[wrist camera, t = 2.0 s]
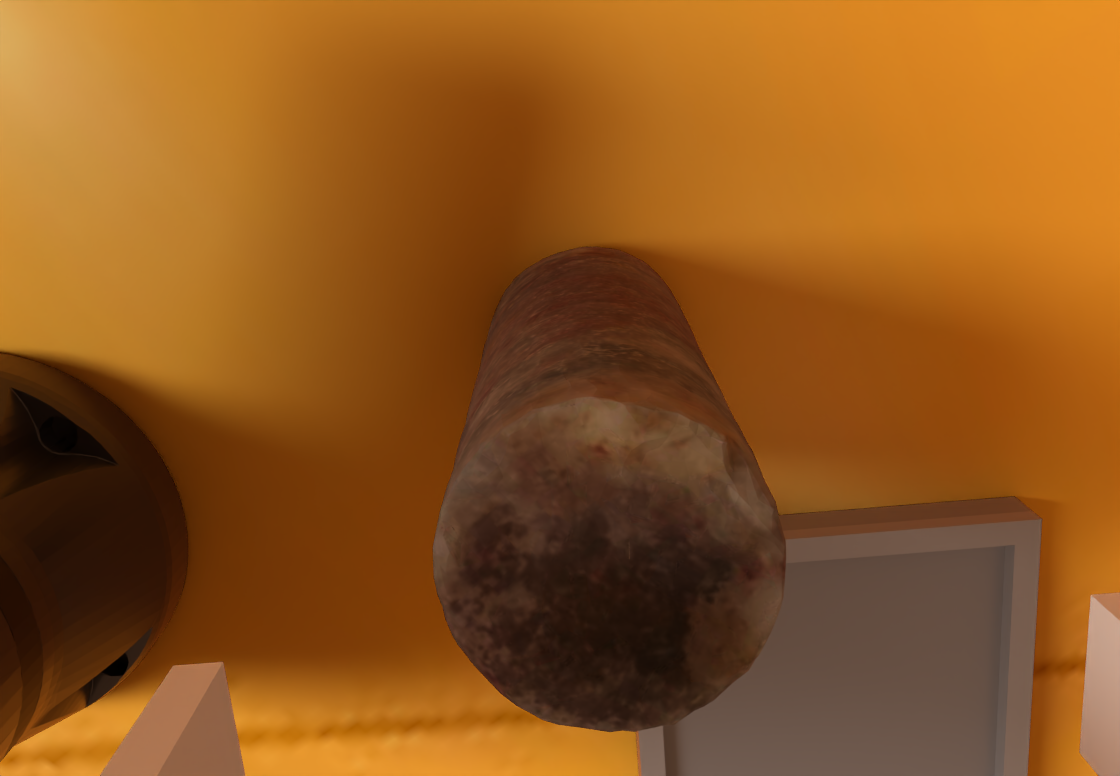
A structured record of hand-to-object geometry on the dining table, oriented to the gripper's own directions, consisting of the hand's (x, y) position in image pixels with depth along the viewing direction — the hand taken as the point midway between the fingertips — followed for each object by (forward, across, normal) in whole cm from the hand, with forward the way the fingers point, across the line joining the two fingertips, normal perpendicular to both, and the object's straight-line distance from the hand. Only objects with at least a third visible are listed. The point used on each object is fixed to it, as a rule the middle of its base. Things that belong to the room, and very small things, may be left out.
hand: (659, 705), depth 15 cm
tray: (+24, +9, -16) cm, 30 cm away
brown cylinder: (+25, 0, 0) cm, 25 cm away
